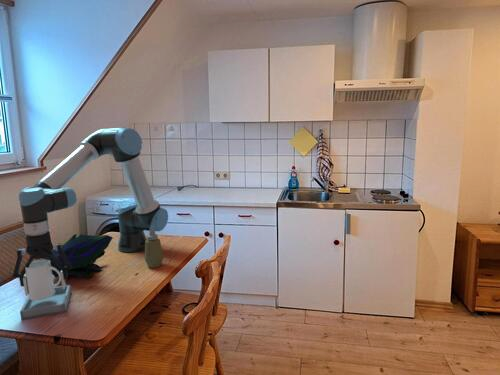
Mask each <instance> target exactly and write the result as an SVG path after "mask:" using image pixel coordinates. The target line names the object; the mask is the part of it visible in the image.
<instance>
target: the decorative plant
mask: <svg viewBox="0 0 500 375" xmlns="http://www.w3.org/2000/svg"><path fill="white" fill-rule="evenodd" d="M77 235H78V233H77V234H73V235H72V236H71V237H70V238H69V239H68V240H67V241H66V242H65V243H63V244H62V249H63V251H64V253H65V254H66V256H67V258H68V259H69V261H70V263H71V264H72V267H71V269H68V270H67V275H68V276H70V275H71V276H77V277H78V276H79V277H82V278H88V279H92V278H93V277H94V274H93V275H91V274H90V272H95V271H96V272H100V271H101V270H103V268H104V267H102V266H100V265H98V264H96V261H97V260H98V259H100V258H102V257H103V256H104V255H105V254H106V251H105V250H106V249H107V248H108V247H109V244H110V243H111V242H112V240H113V238H114V237H112V236H110V235H108V234H102V235H90V234H84V233H80V234H79V235H78V236H77ZM51 252H52V253H53V254H54V255H55V256H56V257H57V258H58V259H59V260H60V261H61V262H62V263H63V264H64V265H65V263H64V262H63V260H62V258H61V257H60V255H59V253H58V251H56V250H55V249H54V248H53V249H52V251H51ZM44 260H50V259H48V258H47V257H46V258H44ZM50 262H51V267H54V268H56V269H57V270H58V271H59V272H61V269H60V268H59V267H58V266H56V265H55V264H54V263H53V262H52V261H51V260H50ZM65 266H66V265H65ZM52 276H53V277H54V278H59V275H58V273H57V272H56V271H54V270H52Z"/></svg>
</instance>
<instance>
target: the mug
mask: <svg viewBox="0 0 500 375" xmlns="http://www.w3.org/2000/svg"><path fill="white" fill-rule="evenodd" d="M24 267H25V266H24ZM25 269H26V272H25V275H26V278H27V285H28V291H29V294H28V295H29V299H30V300H43V299H46V298H49V297H51V296H53V295H54V294H55V289H54V287H58V286H59V285H60V283H61V274H60V272H59V271H58V270H57V269H56V268H54V267H51V262H50V260H45V259H36V260H32V262H31V264H30V266H29V267H28V268H27V267H25ZM52 270H54V271H56V272H57V273H58V275H59V277H58V281H57V282H56V283H55V284H54V278H53V277H54V275H53V274H52Z"/></svg>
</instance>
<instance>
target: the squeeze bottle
mask: <svg viewBox="0 0 500 375" xmlns="http://www.w3.org/2000/svg"><path fill="white" fill-rule="evenodd" d="M146 238H147V240H146V241H145V249H144V254H145V255H144V260H145V263H146V266H147V267H148V268H150V269H154V268H158V267H161V266H162V264H163V260H164V254H163V250H162V249H163V248H162V244H161V239H160V238H159V237H158V234H157V233H156V231H154V229H153V227H150V231H149V234H147V235H146Z"/></svg>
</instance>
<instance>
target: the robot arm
mask: <svg viewBox="0 0 500 375" xmlns="http://www.w3.org/2000/svg"><path fill="white" fill-rule="evenodd" d="M142 145H143V140H142V137H141V135H140V134H139V132H138V131H137V130H136V129H134V128H131V127H122V126H121V127H110V128H109V127H106V128H101V129H98V130H96V131H95V132H92V133H91V134H90V135H89V136H87V137H86V138H84V139H83V140H82V141H81V142H79V144H78V148H77V149H75V150H74V151H73V152H72V153H70V155H69V156H67V157H66V158H65V159H64V160H62V161H61V162H60V163H58V165H56V166H55V167H54V168H53V169H52V170H51V171H49V172H48V173H47V174H46V175H45V176H43V178H41V179H40V180H39V181H38V182H37V183H36V184H34V185H33V186H28V187H25V188H24V187H23V188H22V189H21V190H20V192H19V193H18V201H19V205H20V209H21V210H20V211H21V217H22V222H23V229H24V234H25V243H26V248H21V247H20V248H18V250H16V255H17V258H16V262H15V265H14V270H13V273H12V277H13V278H18V279H19V284H20V287H23V288H24V295H25V297H26V296H27V297H28V295H29V291H28V285H27V278H26V269H25V267H27V268H28V267H29V266H30V264H31V262H33V261H34V259H35V260H41V259H45V258H46V257H47V258H48V259H50V260H51V261H52V262H53V263H54V264H55V265H56V266H58V267H59V268H60V269H61V272H60V274H61V281H60V283H61V286H62V289H65V287H66V285H67V284H66V280H67V279H68V276H69V275H68V274H67V270H68V269H71V267H72V264H71V263H70V261H69V259H68V258H67V256H66V254H65V253H64V251H63V249H62V245H63V244H62V242H61V243H60V242H59V243H58V244H52V243H53V242H52V239H51V232H50V231H49V230H50V224H49V218H48V214H49V213H52V212H58V211H61V210H64V209H68V208H71V207H73V206H75V205H76V203H77V200H78V198H77V193H76V191H75V190H74V189H73V188H71V187H64V186H65V185H67V184H68V183H69V182H70V181H71V180H72V179H74V178H75V176H77V175H78V174H79V173H80V172H81V171H82V170H83V169H84V168H85V167H86V166H87V165H89V164H90V163H91V162H92V161H96V160H98V159H99V158H100V157H102V156H105V155H112V157H113V159H114V161H115V163H117V164H119V165H120V167H121V169H122V173H123V175H124V177H125V180H126V183H127V185H128V188H129V190H130V192H131V194H132V197H133V200H134V202H131V203H130V202H129V203H126V204H122V205H119V207H118V208H117V217H118V218H117V219H118V226H119V237H118V238H119V240H118V243H117V250H118V252H121V253H135V252H136V253H137V252H140V251H143V250H145V241H146V240H147V235H146V234H145V231H149V232H150V227H153V229H154V232H161V231H163V230H164V229H165V228H166V227H167V225H168V220H169V213H168V212H169V211H168V210H167V209H165V208H164V207H161V205H160V202H159V201H158V200H156V199H155V198H154V196H153V193H152V190H151V187H150V185H149V182H148V179H147V177H146V174H145V171H144V168H143V165H142V163H141V159H140V158H139V157H140V156H141V150H142V148H143V146H142ZM54 249H55V250H56V251H58V253H59V255H60V257H61V258H62V260H63V262H64V263H65V265H66V266H65V265H64V264H63V263H62V262H61V261H60V260H59V259H58V258H57V257H56V256H55V255H54V254H53V253H52V252H51V251H52V250H54ZM25 253H27V255H29V258H28V260H27V261H26V264H25V265H24V267H23V268H22V270H21V272H20V269H21V265H22V261H23V258H24V256H25Z"/></svg>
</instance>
